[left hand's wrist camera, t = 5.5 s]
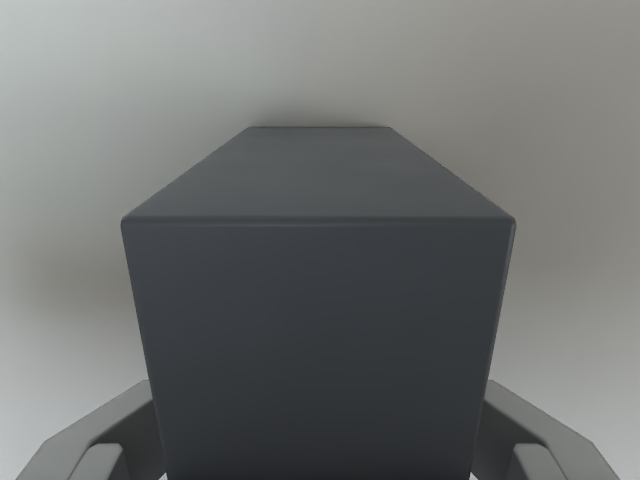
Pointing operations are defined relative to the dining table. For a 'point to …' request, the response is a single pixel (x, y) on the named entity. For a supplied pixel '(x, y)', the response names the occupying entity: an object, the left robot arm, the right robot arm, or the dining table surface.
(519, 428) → the left robot arm
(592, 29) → the dining table surface
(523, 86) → the dining table surface
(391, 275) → the post
